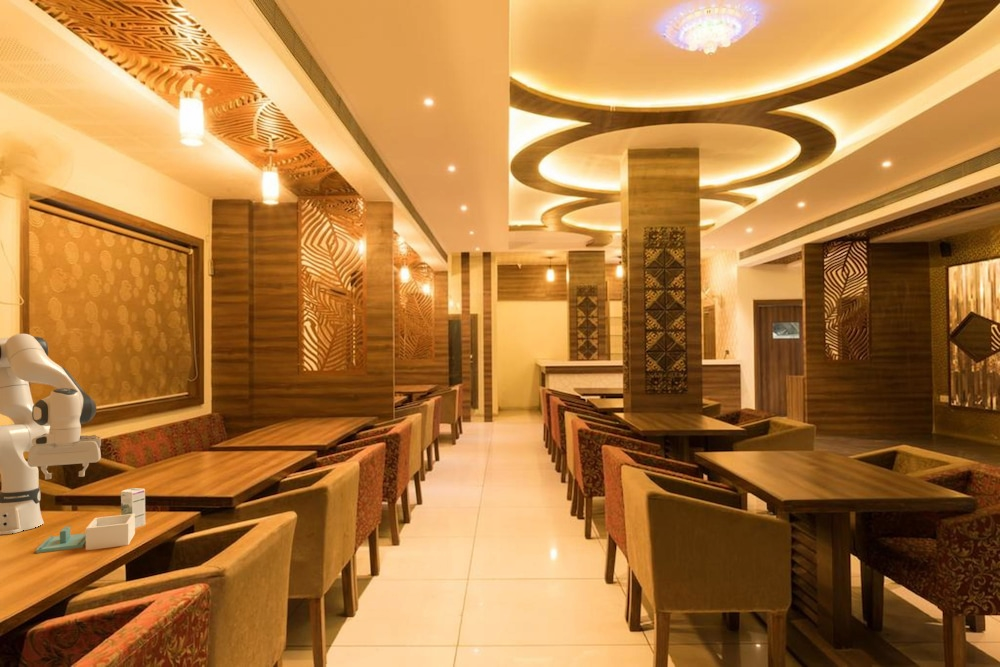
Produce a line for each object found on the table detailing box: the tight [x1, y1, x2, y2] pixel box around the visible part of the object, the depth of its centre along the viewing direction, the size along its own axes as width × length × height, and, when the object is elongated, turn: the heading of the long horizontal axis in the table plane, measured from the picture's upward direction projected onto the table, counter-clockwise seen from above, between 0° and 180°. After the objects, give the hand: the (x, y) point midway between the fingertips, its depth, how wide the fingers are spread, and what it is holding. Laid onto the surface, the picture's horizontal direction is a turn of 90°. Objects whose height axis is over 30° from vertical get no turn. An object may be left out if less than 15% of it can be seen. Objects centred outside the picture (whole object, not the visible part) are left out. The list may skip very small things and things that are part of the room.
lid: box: [35, 525, 86, 554], centre depth 207 cm, size 13×15×6 cm
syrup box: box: [120, 487, 147, 529], centre depth 227 cm, size 6×6×14 cm
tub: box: [85, 514, 136, 551], centre depth 208 cm, size 12×14×8 cm
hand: (65, 477), depth 207 cm, fingers open, 8 cm apart
